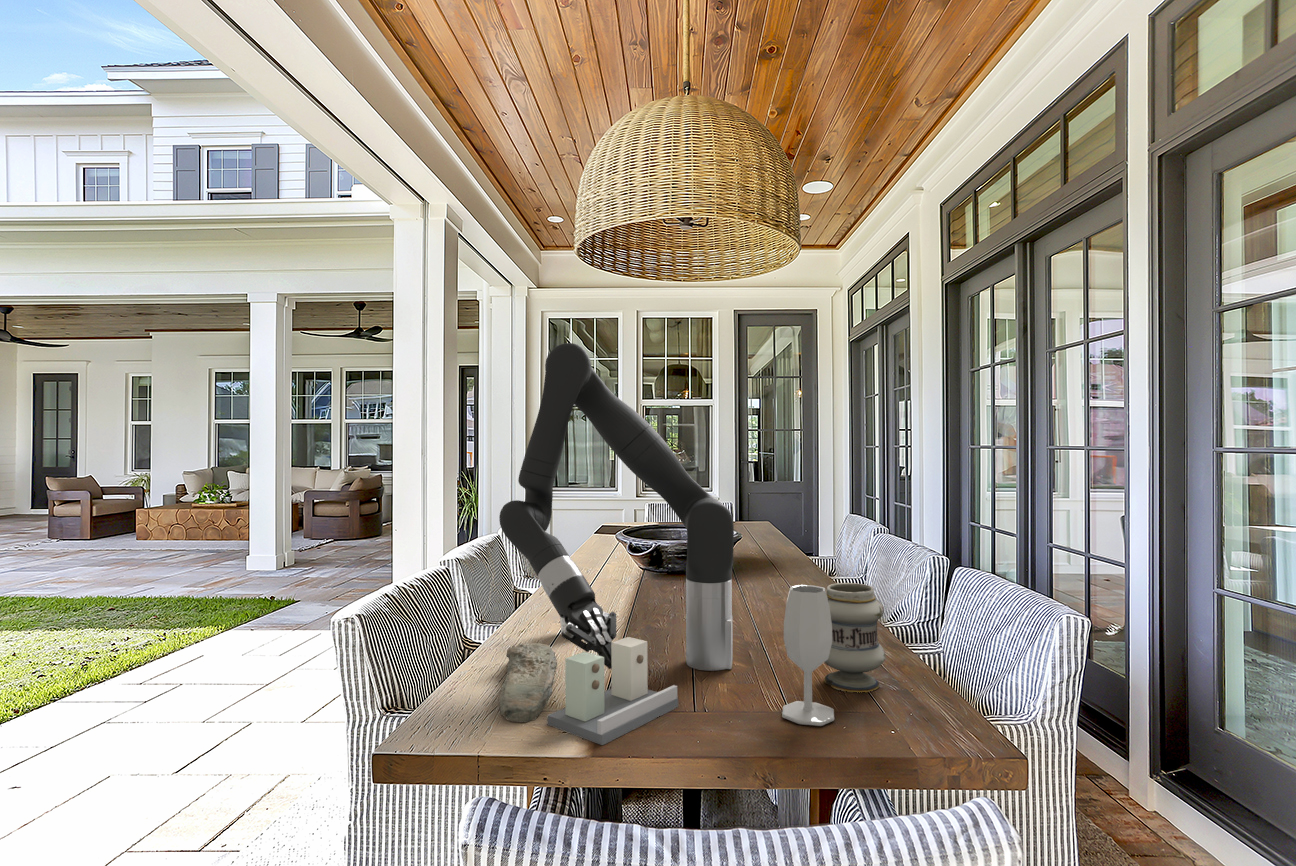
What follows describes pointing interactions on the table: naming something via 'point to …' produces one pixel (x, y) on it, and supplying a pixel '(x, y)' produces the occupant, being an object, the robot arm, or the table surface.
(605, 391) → the robot arm
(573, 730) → the tile board
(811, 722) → the wineglass
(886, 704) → the table surface
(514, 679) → the elongated rock
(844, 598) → the apothecary jar
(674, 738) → the table surface
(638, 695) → the white block
